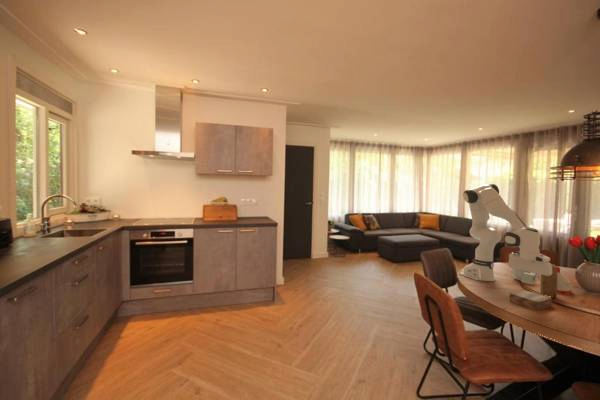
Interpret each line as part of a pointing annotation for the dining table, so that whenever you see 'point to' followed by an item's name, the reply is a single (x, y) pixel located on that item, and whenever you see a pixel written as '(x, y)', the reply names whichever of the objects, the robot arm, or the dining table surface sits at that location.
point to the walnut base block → (530, 299)
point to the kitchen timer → (562, 283)
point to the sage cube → (528, 278)
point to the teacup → (517, 273)
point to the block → (549, 283)
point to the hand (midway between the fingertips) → (528, 278)
